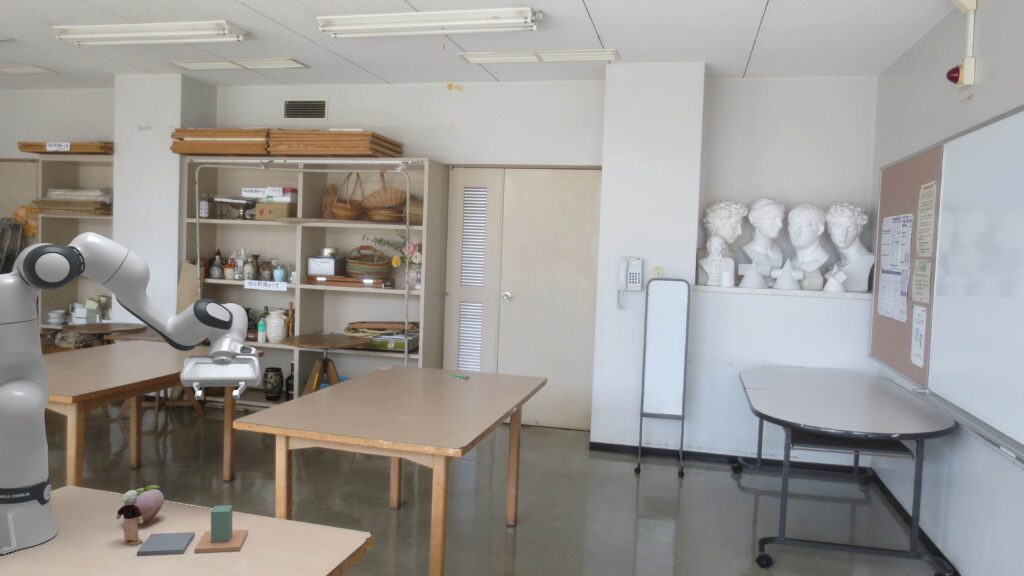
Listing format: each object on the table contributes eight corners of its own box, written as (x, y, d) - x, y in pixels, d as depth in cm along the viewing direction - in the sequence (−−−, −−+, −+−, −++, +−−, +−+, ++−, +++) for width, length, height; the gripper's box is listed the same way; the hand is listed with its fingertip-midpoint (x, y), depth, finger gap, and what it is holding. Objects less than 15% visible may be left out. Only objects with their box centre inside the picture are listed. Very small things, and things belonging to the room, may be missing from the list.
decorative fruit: (143, 514, 188) (143, 477, 188) (169, 517, 186) (169, 480, 186) (115, 527, 179) (115, 488, 179) (142, 531, 177) (142, 492, 176)
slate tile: (136, 555, 164) (136, 551, 164) (151, 537, 174) (151, 533, 174) (183, 553, 166) (183, 549, 166) (194, 535, 175) (194, 532, 175)
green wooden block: (211, 542, 169) (210, 512, 169) (215, 535, 173) (214, 505, 173) (228, 542, 170) (228, 511, 170) (232, 535, 174) (232, 505, 174)
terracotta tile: (194, 553, 166) (194, 549, 166) (205, 535, 176) (205, 531, 176) (239, 551, 168) (239, 546, 168) (247, 533, 178) (247, 529, 177)
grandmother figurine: (150, 539, 173) (150, 488, 172) (140, 546, 169) (140, 494, 168) (120, 537, 173) (120, 486, 172) (110, 544, 170) (109, 492, 169)
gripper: (183, 348, 193) (172, 392, 184) (262, 348, 196) (255, 391, 187) (187, 362, 197) (177, 405, 188) (264, 361, 201) (258, 404, 192)
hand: (217, 398), depth 188 cm, fingers open, 8 cm apart
